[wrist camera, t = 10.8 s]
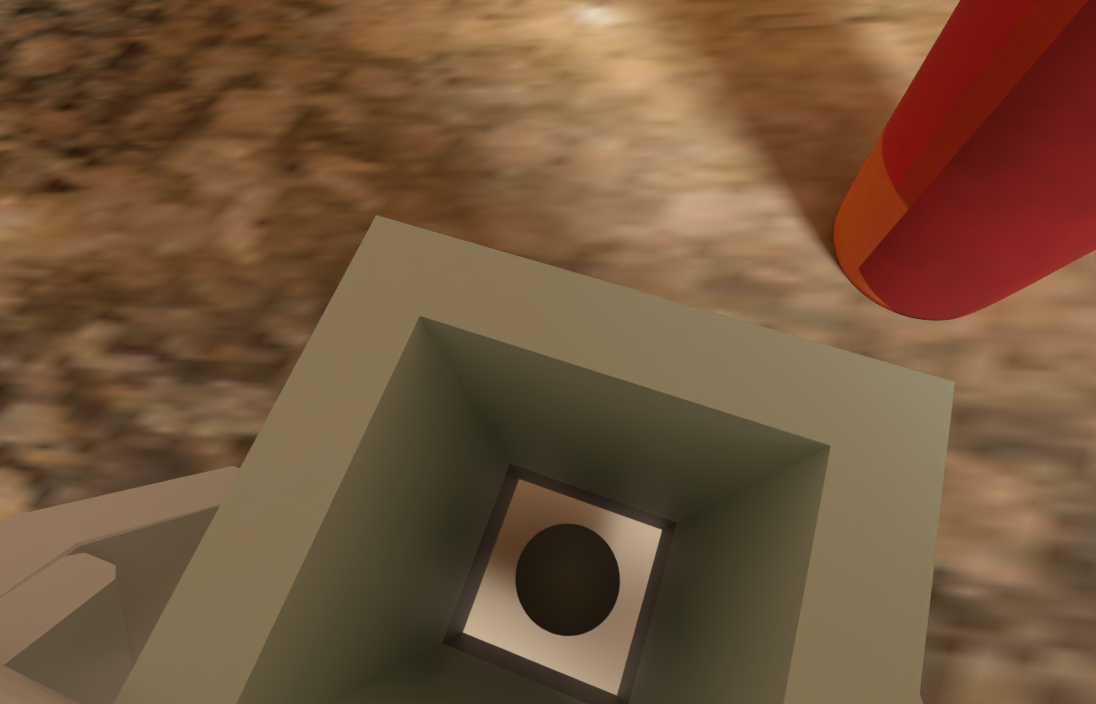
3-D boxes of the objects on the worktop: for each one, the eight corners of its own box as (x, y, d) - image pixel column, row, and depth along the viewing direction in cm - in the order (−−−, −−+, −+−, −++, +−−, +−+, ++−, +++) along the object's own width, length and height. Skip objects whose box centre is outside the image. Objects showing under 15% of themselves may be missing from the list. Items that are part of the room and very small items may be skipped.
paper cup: (1097, 289, 18) (2435, -443, 5) (897, 394, 17) (1892, -160, 4) (932, 119, 21) (1523, -641, 8) (751, 202, 20) (1079, -498, 7)
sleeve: (499, 435, 14) (376, 215, 5) (706, 507, 13) (954, 383, 4) (413, 657, 12) (31, 857, 4) (643, 755, 11) (851, 1311, 3)
